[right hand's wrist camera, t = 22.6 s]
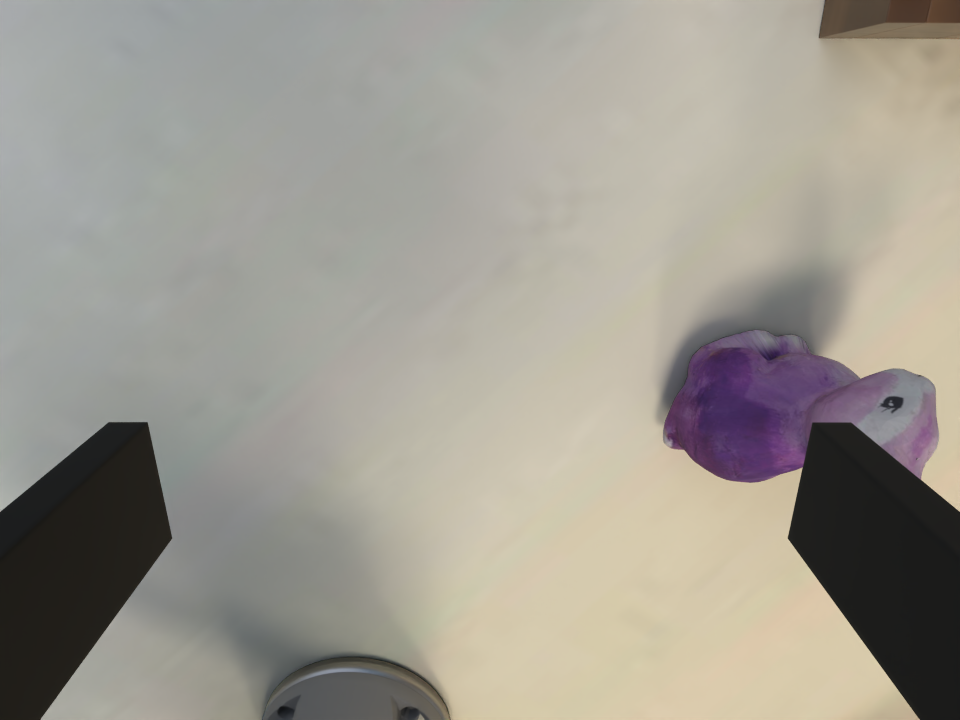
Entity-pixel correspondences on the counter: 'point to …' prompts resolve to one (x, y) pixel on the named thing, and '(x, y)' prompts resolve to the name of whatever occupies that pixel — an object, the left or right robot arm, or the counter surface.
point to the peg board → (891, 19)
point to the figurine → (791, 407)
